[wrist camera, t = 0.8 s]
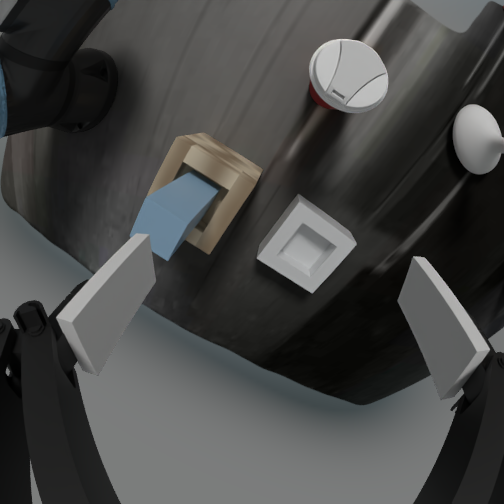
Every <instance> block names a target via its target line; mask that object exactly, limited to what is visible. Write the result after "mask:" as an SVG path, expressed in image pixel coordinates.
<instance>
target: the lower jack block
mask: <svg viewBox="0 0 504 504" xmlns="http://www.w3.org/2000/svg"><path fill="white" fill-rule="evenodd" d="M356 245H357V244H356V242H355V240H354V238H353V236H352V234H351V232H350V231H349V230H347V229H346V228H345V227H343V226H342V225H341V224H339V223H338V222H337V221H335V220H334V219H333V218H331V217H330V216H329V215H327V214H326V213H325V212H323V211H322V210H321V209H319V208H318V207H316V206H315V205H314V204H312V203H311V202H310V201H308V200H307V199H305V198H304V197H302V196H301V195H300V194H297V195H296V197H295V198H294V199H293V201H292V202H291V203H290V205H289V206H288V207H287V209H286V210H285V211H284V213H283V214H282V215H281V217H280V218H279V219H278V221H277V222H276V223H275V225H274V226H273V227H272V229H271V230H270V231H269V233H268V234H267V235H266V237H265V238H264V239H263V241H262V242H261V243H260V245H259V249H258V254H257V259H258V260H260V261H262V262H263V263H265V264H266V265H268V266H270V267H271V268H273V269H274V270H276V271H277V272H279V273H281V274H282V275H284V276H285V277H287V278H289V279H290V280H292V281H293V282H295V283H296V284H298V285H300V286H301V287H303V288H304V289H306V290H308V291H309V292H311V293H313V292H314V291H315V290H316V289H317V288H318V287H319V286H320V285H321V284H322V283H323V281H324V280H325V279H326V278H327V277H328V276H329V275H330V274H331V273H332V272H333V271H334V269H335V268H336V267H337V266H338V265H339V264H340V263H341V262H342V261H343V259H344V258H345V257H346V256H347V255H348V254H349V253H350V251H351V250H352V249H353V248H354V247H355V246H356Z"/></svg>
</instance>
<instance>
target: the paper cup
mask: <svg viewBox="0 0 504 504" xmlns="http://www.w3.org/2000/svg"><path fill="white" fill-rule="evenodd" d="M309 74H310V84H309V90H310V94H311V97H312V98H313V100H314V101H315V102H316V103H317V104H318V105H320V106H322V107H324V108H327V109H337V110H341V111H344V112H348V113H361V112H366V111H369V110H371V109H373V108H375V107H376V106H377V105H378V104H380V102H381V101H382V100H383V99H384V97H385V95H386V92H387V89H388V74H387V71H386V68H385V66H384V64H383V62H382V61H381V59H380V57H379V55H378V54H377V53H376V52H375V51H374V50H373V49H372V48H371V47H369V46H368V45H366V44H364V43H362V42H360V41H356V40H348V39H337V40H332V41H329V42H327V43H325V44H323V45H322V46H321V47H319V48H318V49H317V50H316V52H315V53H314V55H313V56H312V59H311V62H310V67H309Z"/></svg>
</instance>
